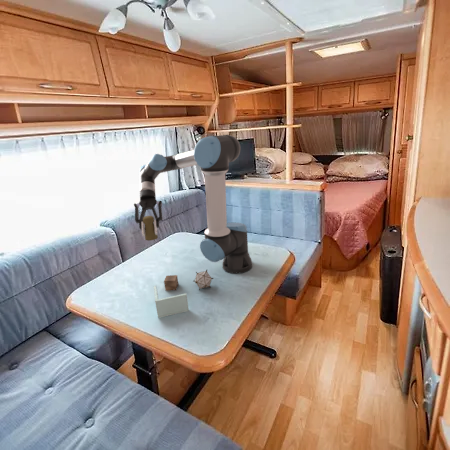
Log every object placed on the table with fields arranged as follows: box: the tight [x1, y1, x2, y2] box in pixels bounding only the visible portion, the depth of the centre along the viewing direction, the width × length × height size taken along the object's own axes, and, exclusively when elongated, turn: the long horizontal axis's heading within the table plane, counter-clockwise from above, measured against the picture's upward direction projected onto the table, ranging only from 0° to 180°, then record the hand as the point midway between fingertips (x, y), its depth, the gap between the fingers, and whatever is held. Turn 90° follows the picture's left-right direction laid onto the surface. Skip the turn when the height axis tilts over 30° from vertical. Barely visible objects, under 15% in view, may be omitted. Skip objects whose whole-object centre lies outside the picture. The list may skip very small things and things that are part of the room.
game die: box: [192, 269, 214, 291], centre depth 128 cm, size 9×8×10 cm
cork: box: [143, 215, 158, 242], centre depth 136 cm, size 6×6×11 cm
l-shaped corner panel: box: [153, 285, 190, 319], centre depth 116 cm, size 12×12×8 cm
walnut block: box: [163, 274, 179, 292], centre depth 130 cm, size 5×5×5 cm
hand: (149, 234), depth 133 cm, fingers closed on cork, 5 cm apart
